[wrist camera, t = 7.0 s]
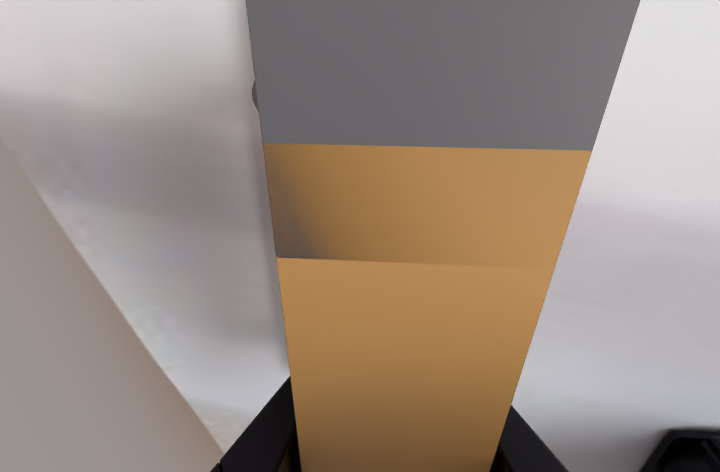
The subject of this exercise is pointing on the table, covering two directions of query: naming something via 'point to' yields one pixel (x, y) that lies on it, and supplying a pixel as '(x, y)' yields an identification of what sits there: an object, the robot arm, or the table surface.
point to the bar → (422, 208)
